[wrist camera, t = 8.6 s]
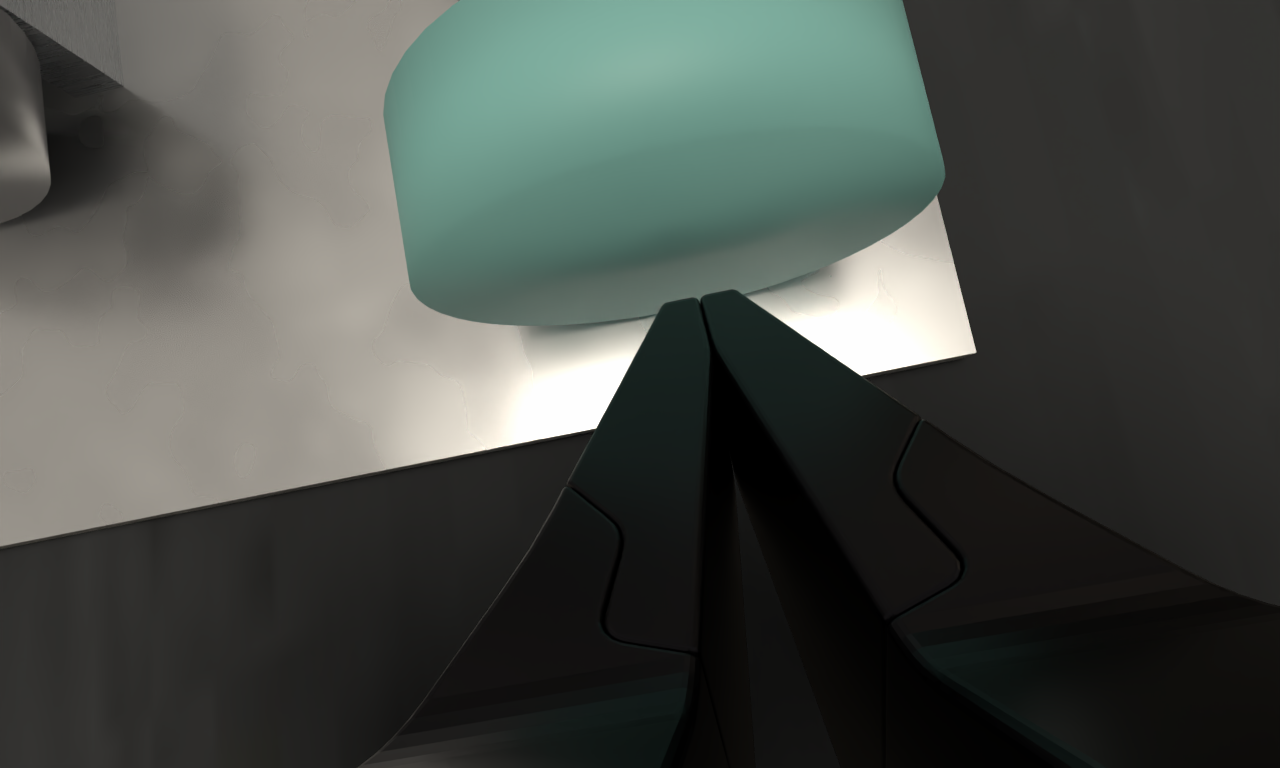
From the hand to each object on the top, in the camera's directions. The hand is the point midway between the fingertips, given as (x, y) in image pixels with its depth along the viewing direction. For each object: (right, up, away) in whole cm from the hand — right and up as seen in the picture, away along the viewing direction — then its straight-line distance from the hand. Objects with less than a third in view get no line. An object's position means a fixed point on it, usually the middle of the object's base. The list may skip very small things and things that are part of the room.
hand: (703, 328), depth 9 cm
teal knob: (-1, +6, +7) cm, 10 cm away
